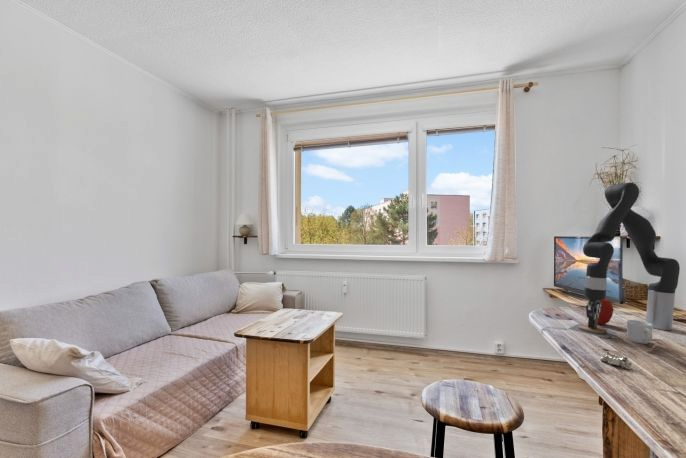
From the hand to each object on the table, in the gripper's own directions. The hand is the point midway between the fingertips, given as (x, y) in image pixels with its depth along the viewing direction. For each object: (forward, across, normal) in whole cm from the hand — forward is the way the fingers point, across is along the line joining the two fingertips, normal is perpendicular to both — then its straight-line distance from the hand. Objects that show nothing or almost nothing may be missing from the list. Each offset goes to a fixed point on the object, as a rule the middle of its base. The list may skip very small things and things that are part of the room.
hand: (592, 326), depth 146 cm
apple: (+2, -18, -2) cm, 18 cm away
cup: (+2, 0, +16) cm, 16 cm away
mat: (+2, 0, 0) cm, 2 cm away
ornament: (+3, +37, +16) cm, 41 cm away
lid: (+2, 0, 0) cm, 2 cm away
